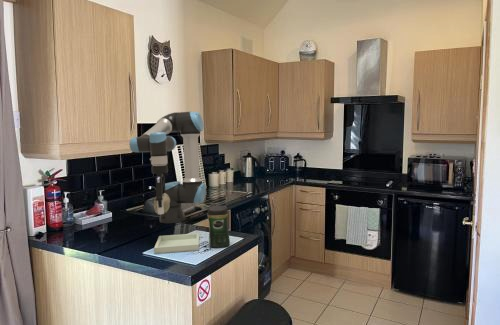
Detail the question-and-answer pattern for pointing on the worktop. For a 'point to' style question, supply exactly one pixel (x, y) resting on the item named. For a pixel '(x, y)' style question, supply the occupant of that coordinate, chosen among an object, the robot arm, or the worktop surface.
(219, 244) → the coffee jar
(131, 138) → the robot arm
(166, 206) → the garlic bulb
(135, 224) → the worktop surface
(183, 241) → the holder dish
